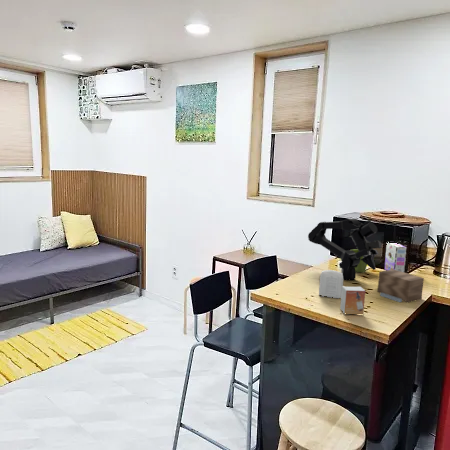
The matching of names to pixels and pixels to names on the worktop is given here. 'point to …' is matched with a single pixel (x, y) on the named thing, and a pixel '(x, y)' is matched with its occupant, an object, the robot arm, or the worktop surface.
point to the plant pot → (360, 264)
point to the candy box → (395, 257)
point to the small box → (352, 300)
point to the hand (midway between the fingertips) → (374, 269)
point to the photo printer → (331, 283)
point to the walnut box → (400, 285)
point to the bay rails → (391, 297)
